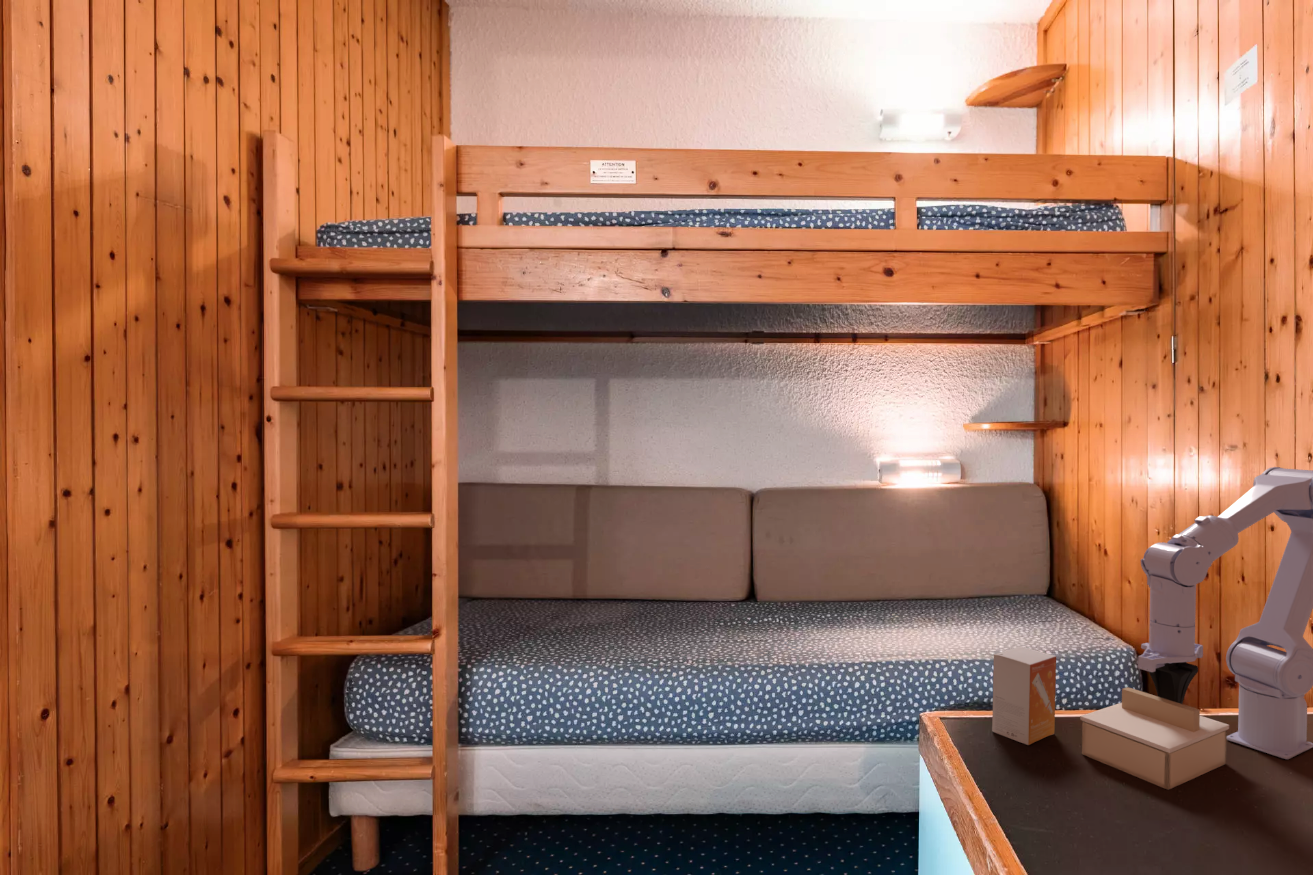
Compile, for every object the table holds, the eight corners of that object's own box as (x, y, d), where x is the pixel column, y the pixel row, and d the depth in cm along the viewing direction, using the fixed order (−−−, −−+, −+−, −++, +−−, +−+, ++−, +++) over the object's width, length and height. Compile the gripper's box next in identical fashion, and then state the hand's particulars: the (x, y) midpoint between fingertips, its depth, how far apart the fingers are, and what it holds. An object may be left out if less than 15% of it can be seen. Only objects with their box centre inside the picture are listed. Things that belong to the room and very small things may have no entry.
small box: (1029, 746, 112) (1030, 664, 112) (991, 731, 118) (992, 653, 117) (1056, 734, 117) (1057, 655, 117) (1018, 720, 122) (1019, 644, 122)
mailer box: (1140, 732, 117) (1140, 702, 117) (1226, 763, 107) (1226, 730, 107) (1081, 754, 110) (1082, 721, 110) (1168, 789, 99) (1168, 754, 99)
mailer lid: (1140, 699, 118) (1140, 678, 117) (1229, 728, 107) (1229, 704, 107) (1080, 719, 110) (1080, 696, 110) (1169, 752, 99) (1170, 727, 99)
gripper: (1168, 610, 117) (1167, 692, 117) (1117, 621, 110) (1116, 708, 111) (1219, 620, 111) (1217, 707, 111) (1168, 633, 104) (1166, 726, 104)
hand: (1170, 709), depth 110 cm, fingers closed
